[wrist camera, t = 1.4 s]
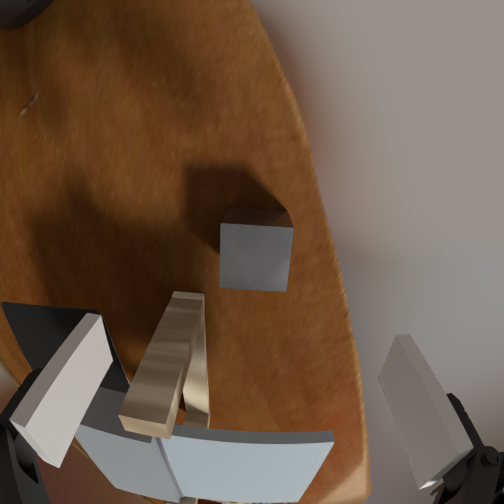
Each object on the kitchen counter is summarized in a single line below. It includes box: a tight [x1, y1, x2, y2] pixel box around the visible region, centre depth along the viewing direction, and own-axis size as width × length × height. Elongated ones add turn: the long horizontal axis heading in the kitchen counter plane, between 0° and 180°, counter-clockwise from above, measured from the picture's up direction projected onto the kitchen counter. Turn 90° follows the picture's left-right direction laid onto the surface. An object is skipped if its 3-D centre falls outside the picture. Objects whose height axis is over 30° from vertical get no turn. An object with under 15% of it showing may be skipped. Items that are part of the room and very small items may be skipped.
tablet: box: [2, 302, 130, 393], centre depth 34 cm, size 27×1×20 cm
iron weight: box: [219, 207, 294, 292], centre depth 23 cm, size 5×5×5 cm
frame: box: [118, 291, 210, 504], centre depth 24 cm, size 20×3×15 cm, turn 177°
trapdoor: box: [74, 387, 335, 503], centre depth 19 cm, size 19×16×4 cm
